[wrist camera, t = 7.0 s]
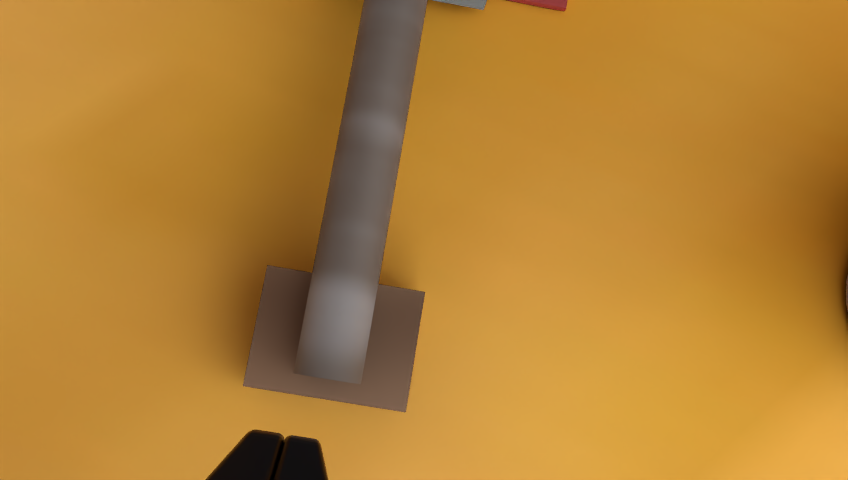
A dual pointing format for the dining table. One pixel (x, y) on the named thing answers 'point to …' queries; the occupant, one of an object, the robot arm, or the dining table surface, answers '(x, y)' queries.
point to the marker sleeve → (467, 3)
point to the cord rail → (353, 242)
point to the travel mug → (847, 292)
